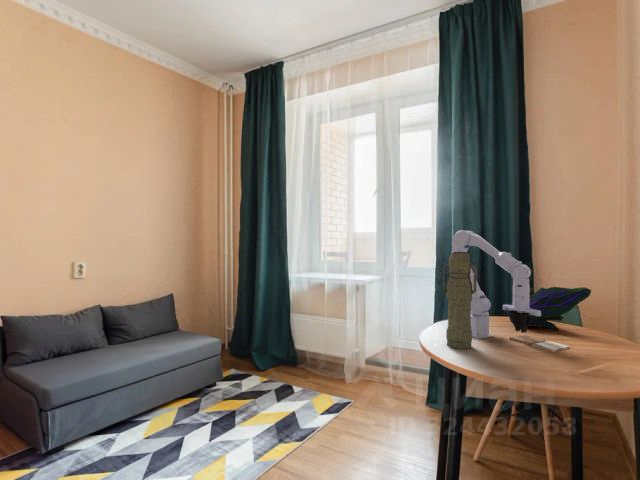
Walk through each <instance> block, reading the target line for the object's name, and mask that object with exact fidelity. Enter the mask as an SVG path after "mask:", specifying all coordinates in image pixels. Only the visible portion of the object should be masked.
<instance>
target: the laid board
mask: <svg viewBox="0 0 640 480" xmlns="http://www.w3.org/2000/svg"><path fill="white" fill-rule="evenodd" d="M530 346H531V347H534V348H538V349H541V350H544V351H545V350H546V351H548V352H553V353H555V352H558V351H562V350H566V349H567V350H568V349H570V348H571V346H570V345H567V344H562V343H559V342H555V341H554V342H553V341H550V340H546V341H543V342H538V343H533V344H531V345H530Z"/></svg>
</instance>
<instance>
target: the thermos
mask: <svg viewBox="0 0 640 480" xmlns="http://www.w3.org/2000/svg"><path fill="white" fill-rule="evenodd" d="M447 267H448V273H449V274H448V281H447V282H446V268H447ZM471 269H472V271H473V273H474V291H473V290H472V283H471V280H470V279H471V277H470V273H471ZM477 277H478V269H477V267H476V266H475V265H473V264H471V257H470V254H469V252H453V253H452V252H451V253H450V255H449V259H448V263H445V264H444V265H443V267H442V291H443V292H445V293H446V299H447V301H448V302H447V304H448V305H447V328H446V331H445V332H446V347H448V346H449V347H448V348H450V347H451V349H454V350H460V349H462V351H463V350H464V351H465V350H466V349H467V350H471V349H472V347H473V346H472V341H473V337H472V330H471V301H472V294H474V293H475V292H476V291H477V290H476V285H477V283H478V280H477V279H478V278H477ZM446 283H447V284H446Z"/></svg>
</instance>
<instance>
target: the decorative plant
mask: <svg viewBox="0 0 640 480" xmlns="http://www.w3.org/2000/svg"><path fill="white" fill-rule="evenodd" d="M533 289H534V288H531V287H530V305H529V307H530V308H532V309H535V310H539V311H541V316H535V315H533V317H532V319H531V320H530V322H529V325H528V326H542V327H545V328H549V329H552V330H553V331H556V332H557V331H559V329H560V327H557V326H556V324H555V323H553V322H552V321H558V322H560V321H561V322H562V321H563V320H564V318H565V316H563V315H564V314H567V313H569V312H570V311H571V310H573V309H574V308H575V307H576V306H577V305H578V304H580V303H582V302H584V301H585V300H587V299H588V298H589V297H590V296H591V293H592V290H591V289H590V288H588V287H585V286H584V287H575V288H569V287H568V288H567V287H560V286H552V287H548V288H545V287H540V288H538V290H536V291H535V292H534V293H532V292H533ZM507 305H513V302H511V303H508V304H507ZM505 311H506V312H505V313H506V314H507V315H508V317H509V321H510V322H511V323H512V325H513V326H514V323H513V321H512V319H511V317H510V315H509V313H510V312H511V311H509V310H505ZM523 312H524V311H523Z"/></svg>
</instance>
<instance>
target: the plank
mask: <svg viewBox="0 0 640 480" xmlns="http://www.w3.org/2000/svg"><path fill="white" fill-rule="evenodd" d="M509 341H512V342H515V343H516V342H517V343H519V344H524V345H527V346H531V344H533V343H538V342H543V341H547V340H546V339H543V338H540V337H536V336H532V335H530V334H529V335H528V334H522V335H516V336H512V337H511V336H510V337H509Z"/></svg>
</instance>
